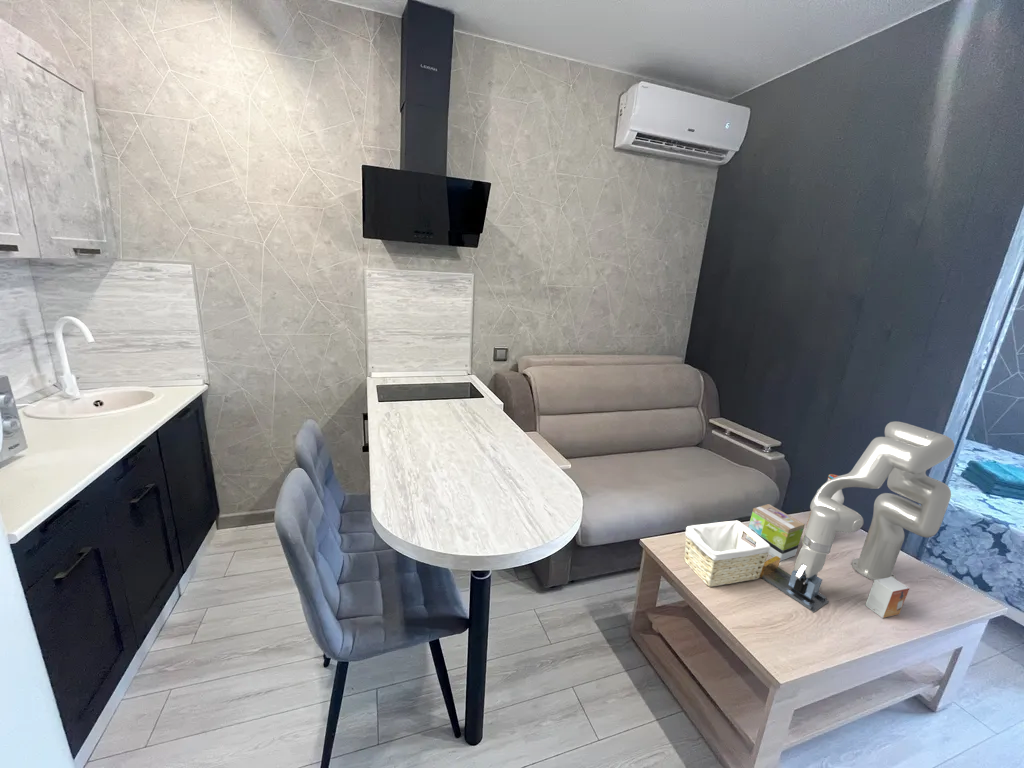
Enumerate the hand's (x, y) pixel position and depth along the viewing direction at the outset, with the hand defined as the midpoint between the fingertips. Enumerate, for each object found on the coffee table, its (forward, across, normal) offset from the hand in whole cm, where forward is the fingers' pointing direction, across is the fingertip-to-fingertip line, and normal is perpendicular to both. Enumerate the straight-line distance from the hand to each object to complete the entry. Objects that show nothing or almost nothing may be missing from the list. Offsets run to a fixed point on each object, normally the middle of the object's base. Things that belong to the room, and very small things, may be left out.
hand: (803, 588), depth 143 cm
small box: (+3, -18, +16) cm, 24 cm away
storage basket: (+3, +15, -21) cm, 26 cm away
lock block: (+1, 0, 0) cm, 1 cm away
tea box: (+3, -16, -20) cm, 25 cm away
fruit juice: (+3, -43, -14) cm, 45 cm away
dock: (+3, 0, -3) cm, 4 cm away
